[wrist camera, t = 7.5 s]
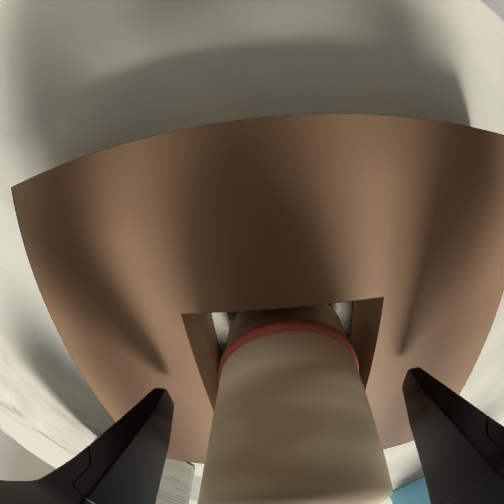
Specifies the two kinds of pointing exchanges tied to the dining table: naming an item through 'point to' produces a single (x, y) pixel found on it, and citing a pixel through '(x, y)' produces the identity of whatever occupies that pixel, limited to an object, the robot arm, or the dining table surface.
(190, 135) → the walnut board
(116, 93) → the dining table surface
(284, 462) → the beech peg
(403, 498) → the vase
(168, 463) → the supplement box
